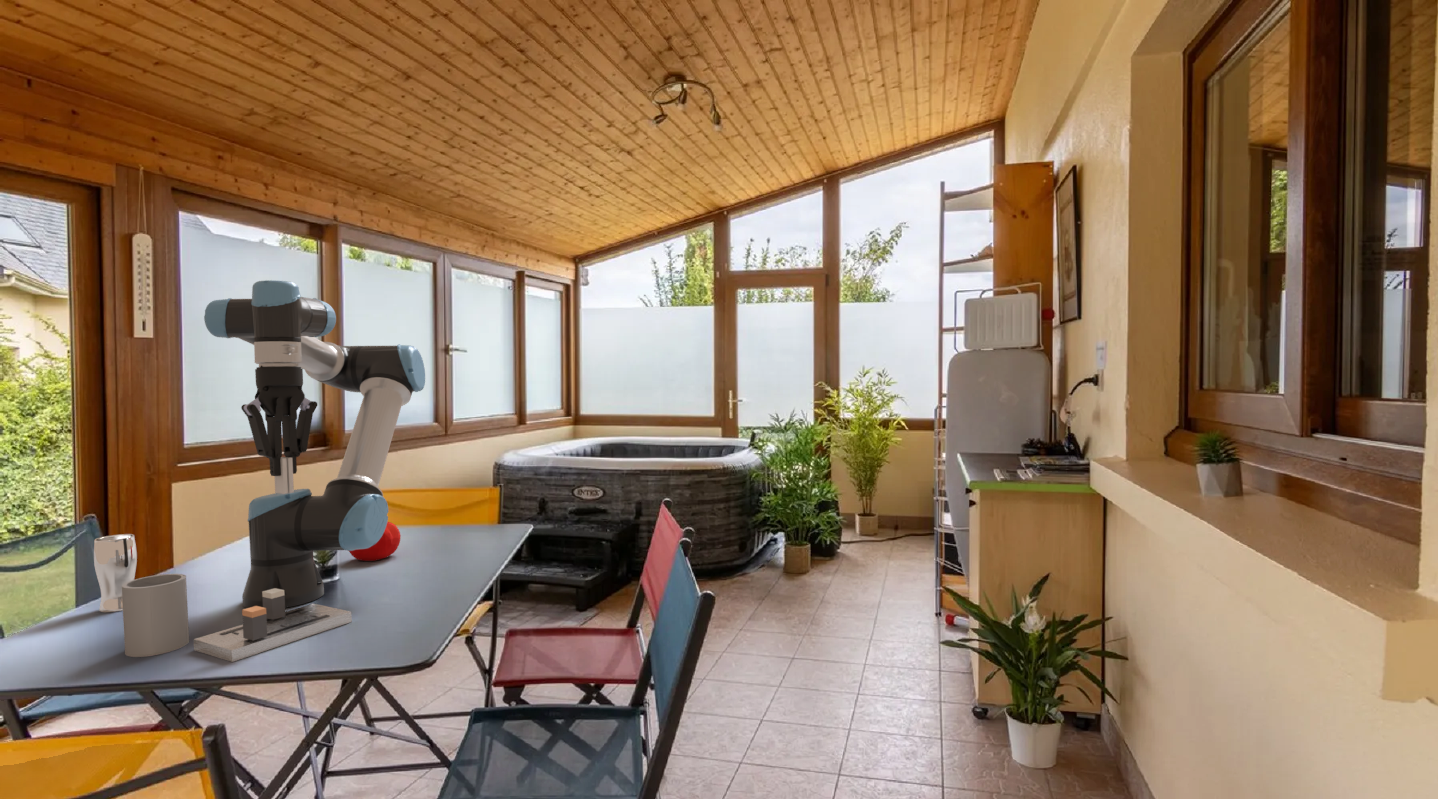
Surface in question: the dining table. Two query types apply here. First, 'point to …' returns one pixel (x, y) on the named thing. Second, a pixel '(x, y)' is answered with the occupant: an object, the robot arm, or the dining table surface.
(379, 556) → the tomato
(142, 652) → the cup
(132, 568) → the beer glass
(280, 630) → the console
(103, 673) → the dining table surface
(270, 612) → the fader far
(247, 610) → the fader near
